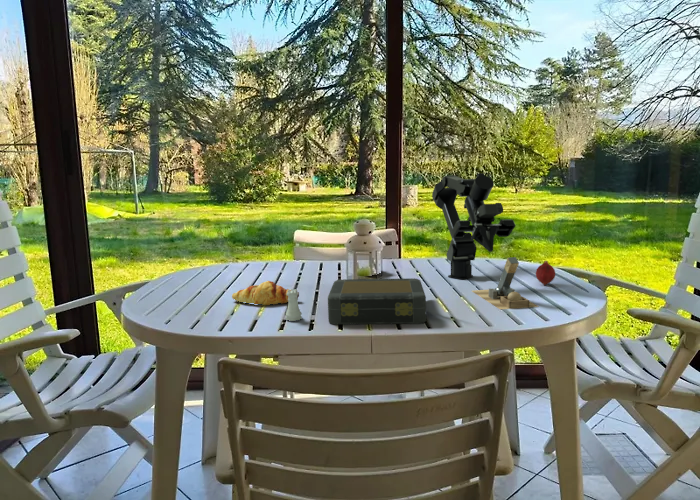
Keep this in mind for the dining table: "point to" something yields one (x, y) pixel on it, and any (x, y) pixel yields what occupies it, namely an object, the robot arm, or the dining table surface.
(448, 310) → the dining table surface
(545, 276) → the onion
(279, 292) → the croissant
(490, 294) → the base
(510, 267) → the lever
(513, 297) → the beige ball
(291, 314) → the rook chess piece
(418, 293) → the cash box
